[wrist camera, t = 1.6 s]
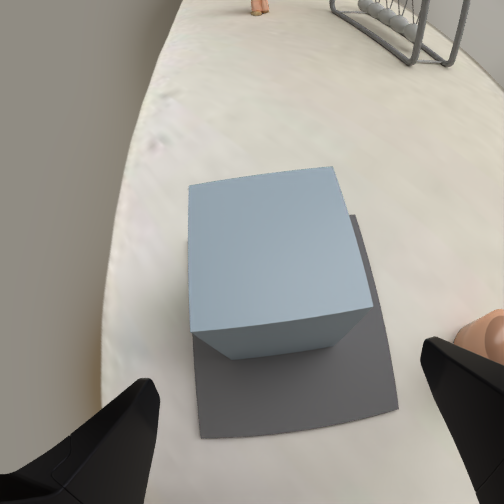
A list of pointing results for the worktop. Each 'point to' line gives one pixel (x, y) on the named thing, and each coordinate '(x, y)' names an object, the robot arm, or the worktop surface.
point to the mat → (298, 381)
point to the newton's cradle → (405, 28)
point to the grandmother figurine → (259, 7)
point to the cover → (273, 264)
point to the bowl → (484, 336)
